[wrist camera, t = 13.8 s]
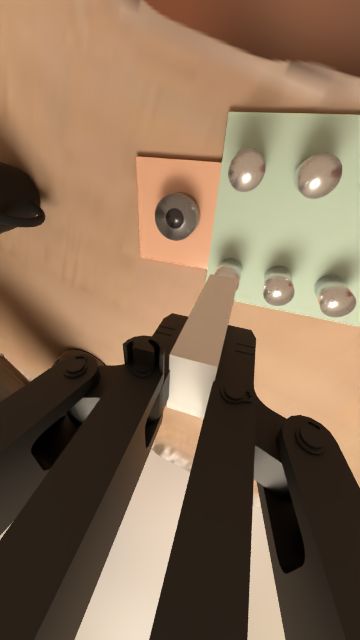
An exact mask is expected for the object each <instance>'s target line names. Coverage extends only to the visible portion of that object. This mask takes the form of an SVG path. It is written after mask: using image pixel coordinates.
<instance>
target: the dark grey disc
mask: <svg viewBox="0 0 360 640" xmlns="http://www.w3.org/2000/svg"><path fill="white" fill-rule="evenodd" d="M155 222H156V225H157V228H158V230H159V231H160V233H161V234H162V235H163V236H165V237H166V238H168V239H170V240H174V241H179V240H183V239H185V238H187V237H188V236H189V235H190V234H191V233H192V232H193V231H194V230H195V229H196V228H197V226H198V224H199V222H200V208H199V205H198V203H197V201H196V200H195V199H194V198H193V197H192V196H191V195H189V194H187V193H184V192H176V193H173V194H170V195H167V196H165V197H163V198H162V199H161V200H160V201H159V203H158V204H157V207H156V210H155Z"/></svg>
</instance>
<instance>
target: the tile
mask: <svg viewBox="0 0 360 640" xmlns="http://www.w3.org/2000/svg"><path fill="white" fill-rule="evenodd" d="M221 165H222V162H208V161H194V160H180V159H166V158H152V157H138V156H136V167H137V189H138V211H139V233H140V255H141V258H147V259H152V260H158V261H163V262H169V263H175V264H180V265H186V266H192V267H197V268H203V269H207V268H208V261H209V254H210V246H211V239H212V231H213V224H214V217H215V209H216V202H217V194H218V187H219V180H220V172H221ZM176 192H184V193H187V194H189V195H191V196H192V197H193V198H194V199H195V200H196V201H197V203H198V205H199V208H200V222H199V224H198V226H197V228H196V229H195V230H194V231H193V232H192V233H191V234H190V235H189V236H188V237H187V238H185V239H183V240H179V241H174V240H170V239H168V238H166V237H165V236H163V235H162V234H161V233H160V231H159V230H158V228H157V225H156V222H155V210H156V207H157V204H158V203H159V201H160V200H161V199H162V198H163V197H165V196H167V195H170V194H173V193H176Z"/></svg>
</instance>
